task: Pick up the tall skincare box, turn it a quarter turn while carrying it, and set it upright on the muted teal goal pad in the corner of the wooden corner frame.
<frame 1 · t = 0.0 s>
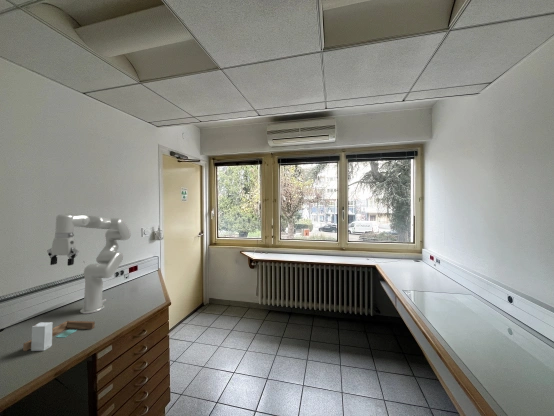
hand: (62, 264, 124), 37 cm above the counter, tool pointing down, fingers open, 9 cm apart
wooden corner frame: (62, 338, 114), on the counter
skincare box: (41, 349, 105), on the counter
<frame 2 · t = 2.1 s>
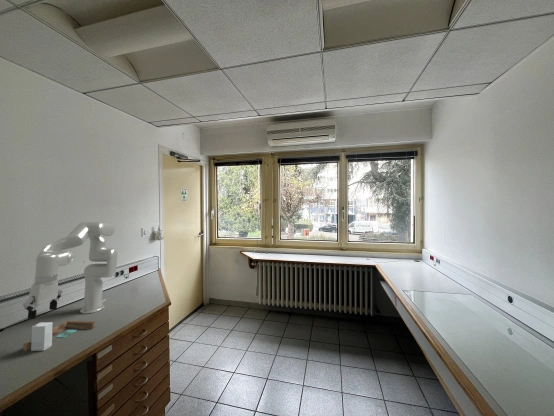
hand: (42, 313, 105), 17 cm above the counter, tool pointing down, fingers open, 9 cm apart
nothing on the counter moved.
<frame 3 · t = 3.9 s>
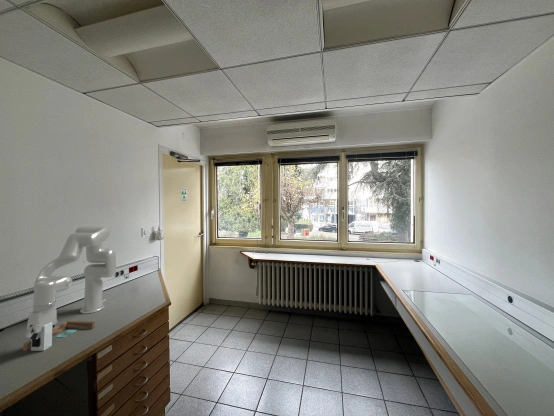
hand: (41, 342, 105), 3 cm above the counter, tool pointing down, fingers closed on skincare box, 4 cm apart
skincare box: (40, 349, 105), on the counter, touching gripper
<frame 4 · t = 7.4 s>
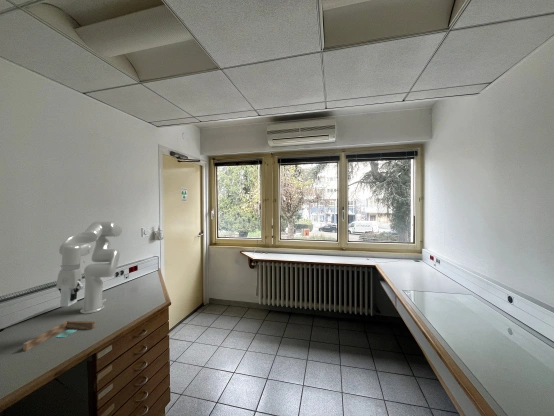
hand: (68, 299, 119), 19 cm above the counter, tool pointing down, fingers closed on skincare box, 4 cm apart
skincare box: (68, 304, 119), point 16 cm above the counter, touching gripper
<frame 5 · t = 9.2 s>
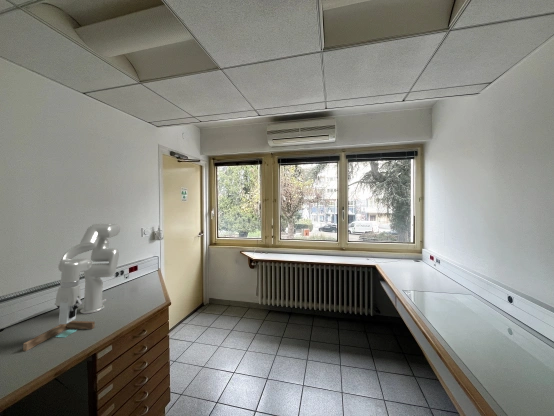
hand: (67, 316, 118), 9 cm above the counter, tool pointing down, fingers closed on skincare box, 4 cm apart
skincare box: (67, 322, 118), point 7 cm above the counter, touching gripper
when the fingers open (4 cm above the counter, at t = 10.9 s): skincare box drops 1 cm, resting on wooden corner frame.
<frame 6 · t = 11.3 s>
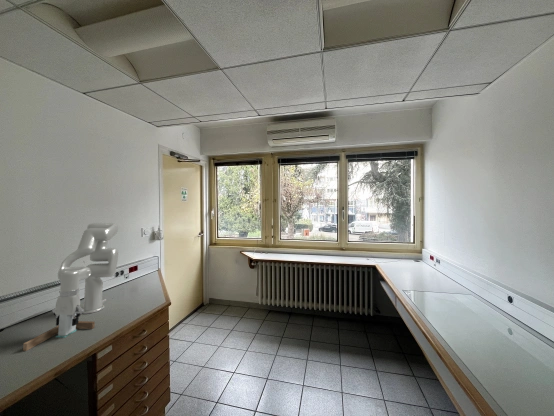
hand: (67, 324, 118), 5 cm above the counter, tool pointing down, fingers open, 8 cm apart
skincare box: (67, 333, 118), resting on wooden corner frame
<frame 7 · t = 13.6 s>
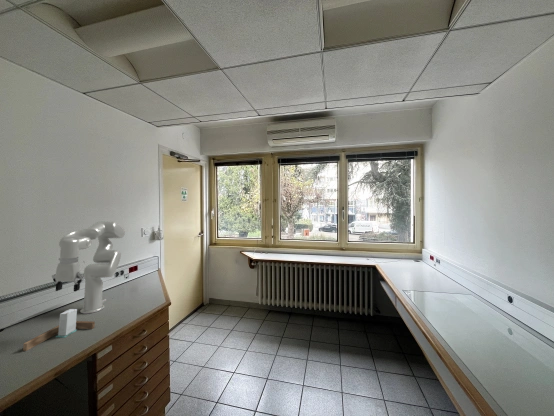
hand: (67, 290, 121), 23 cm above the counter, tool pointing down, fingers open, 9 cm apart
nothing on the counter moved.
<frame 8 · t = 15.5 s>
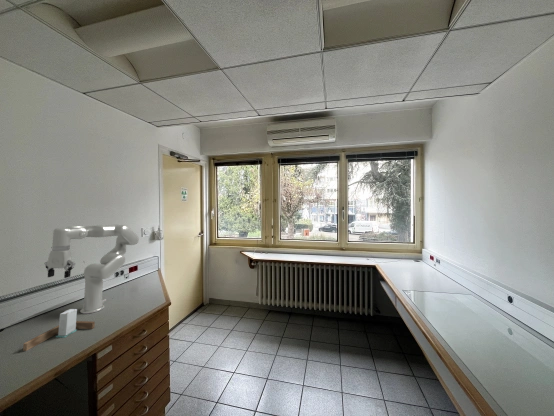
hand: (59, 276, 128), 28 cm above the counter, tool pointing down, fingers open, 9 cm apart
nothing on the counter moved.
at the end: skincare box 0.2 cm from the target spot, resting on wooden corner frame; skincare box tilted 0°; the gripper is holding nothing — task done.
